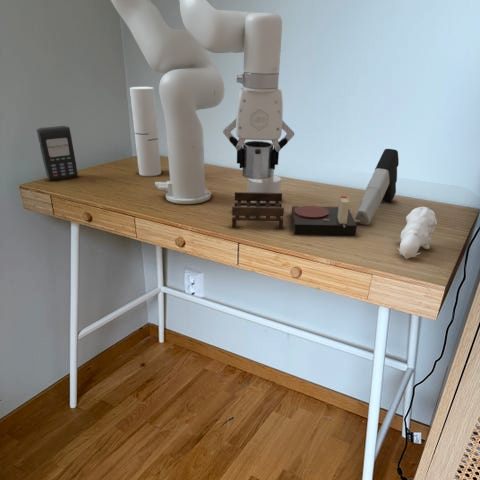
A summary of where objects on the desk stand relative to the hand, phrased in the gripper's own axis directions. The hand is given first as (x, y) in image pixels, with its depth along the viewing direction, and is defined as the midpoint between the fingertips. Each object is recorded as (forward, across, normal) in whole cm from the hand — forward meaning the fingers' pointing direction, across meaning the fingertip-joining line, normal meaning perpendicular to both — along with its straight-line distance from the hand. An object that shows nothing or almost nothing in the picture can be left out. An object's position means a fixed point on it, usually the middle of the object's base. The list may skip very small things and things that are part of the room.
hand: (257, 166), depth 108 cm
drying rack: (+13, +1, -1) cm, 13 cm away
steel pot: (+2, 0, 0) cm, 2 cm away
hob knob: (+10, +20, -7) cm, 23 cm away
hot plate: (+10, +14, -2) cm, 17 cm away
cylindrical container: (+14, -35, +41) cm, 56 cm away
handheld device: (+12, +31, +7) cm, 34 cm away
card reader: (+15, -61, +33) cm, 71 cm away
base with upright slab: (+13, +2, +15) cm, 20 cm away
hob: (+12, +16, -4) cm, 21 cm away
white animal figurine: (+12, +34, -18) cm, 40 cm away
